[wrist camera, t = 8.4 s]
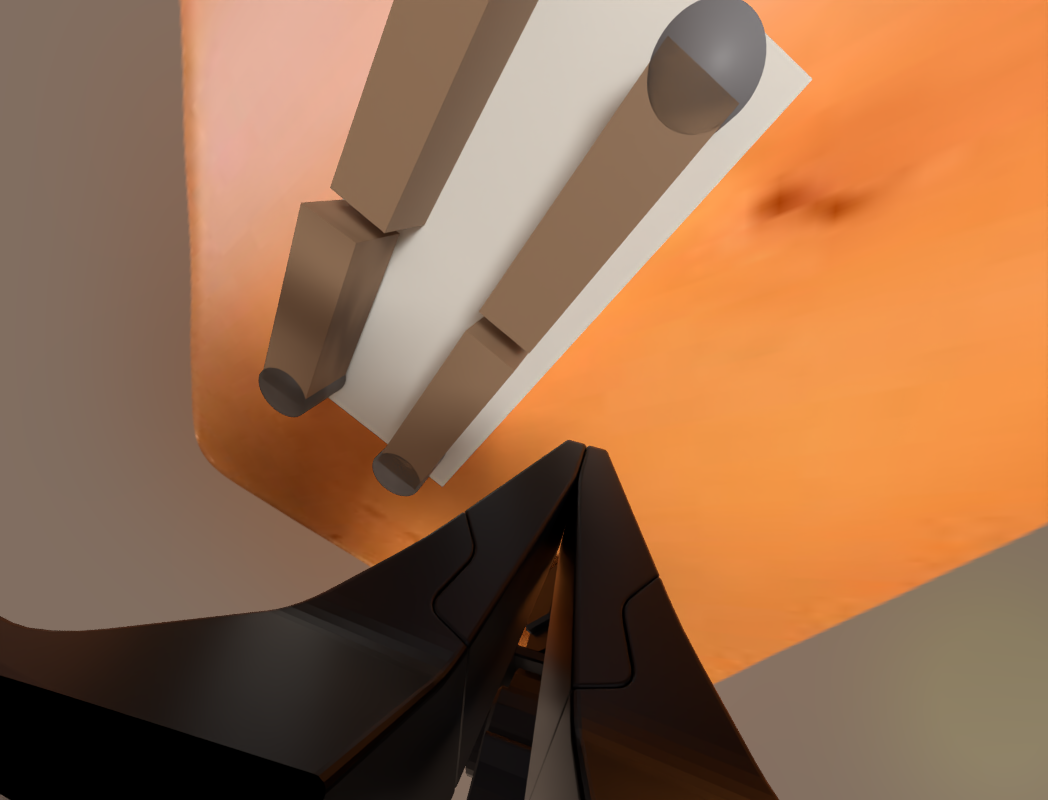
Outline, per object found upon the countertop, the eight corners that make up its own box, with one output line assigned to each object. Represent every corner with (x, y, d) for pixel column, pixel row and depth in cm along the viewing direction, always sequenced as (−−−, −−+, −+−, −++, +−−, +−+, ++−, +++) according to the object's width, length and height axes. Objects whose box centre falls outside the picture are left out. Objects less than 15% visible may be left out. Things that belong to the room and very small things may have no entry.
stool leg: (338, 400, 24) (299, 426, 21) (298, 371, 24) (254, 395, 21) (402, 235, 18) (359, 245, 15) (350, 196, 18) (297, 200, 15)
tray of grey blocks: (794, 90, 14) (851, 53, 9) (456, 467, 27) (417, 521, 23) (520, -174, 13) (449, -346, 9) (308, 350, 26) (239, 384, 22)
